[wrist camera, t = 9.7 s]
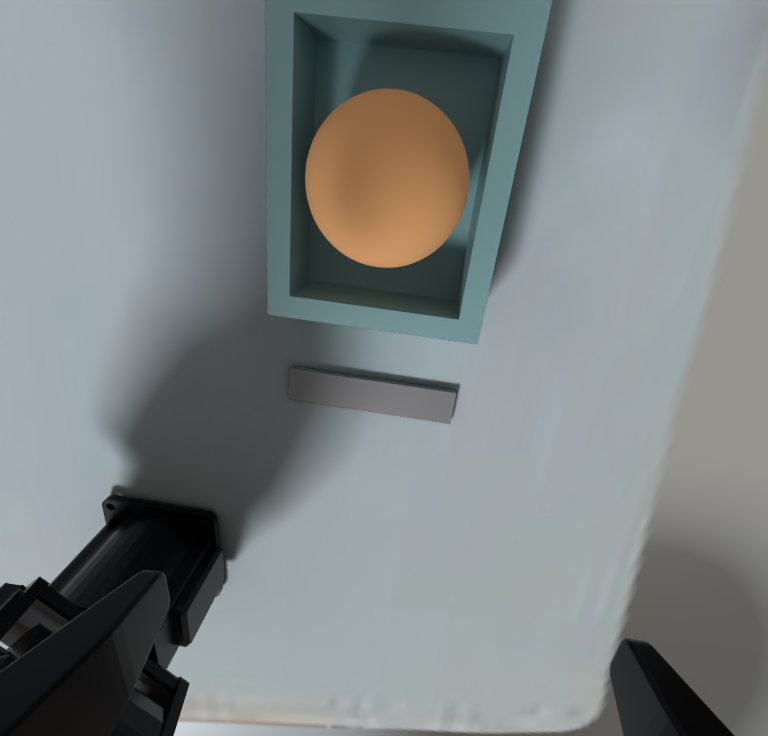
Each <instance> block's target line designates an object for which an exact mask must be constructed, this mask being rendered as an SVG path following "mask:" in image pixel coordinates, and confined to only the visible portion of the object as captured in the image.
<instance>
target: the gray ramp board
mask: <svg viewBox="0 0 768 736" xmlns="http://www.w3.org/2000/svg"><path fill="white" fill-rule="evenodd" d="M455 398H456V390H451V389H444V388H437V387H431V386H424V385H417V384H410V383H404V382H397V381H390V380H383V379H376V378H370V377H363V376H356V375H349V374H343V373H336V372H329V371H322V370H316V369H309V368H302V367H295V366H291V367H290V368H289V399H290V400H296V401H303V402H310V403H316V404H323V405H329V406H336V407H342V408H349V409H356V410H362V411H369V412H375V413H382V414H388V415H395V416H402V417H408V418H415V419H421V420H428V421H434V422H441V423H448V424H450V422H451V418H452V413H453V408H454V403H455Z"/></svg>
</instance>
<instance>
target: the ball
mask: <svg viewBox="0 0 768 736" xmlns="http://www.w3.org/2000/svg"><path fill="white" fill-rule="evenodd" d="M305 187H306V194H307V200H308V203H309V207H310V210H311V213H312V215H313V218H314V220H315V222H316V224H317V225H318V227H319V229H320V230H321V232H322V233H323V235H324V236H325V237H326V239H327V240H328V241H329V242H330V243H331V244H332V245H333V246H334V247H335V248H336V249H338V250H339V251H340V252H341V253H343V254H344V255H346V256H347V257H349V258H351V259H353V260H355V261H357V262H359V263H362V264H365V265H369V266H374V267H384V268H391V267H400V266H405V265H409V264H412V263H415V262H417V261H419V260H421V259H423V258H425V257H427V256H428V255H430V254H431V253H433V252H434V251H436V250H437V249H438V248H439V247H440V246H441V245H442V244H443V243H444V242H445V241H446V240H447V239H448V238H449V237H450V235H451V234H452V232H453V231H454V229H455V228H456V226H457V224H458V222H459V220H460V219H461V216H462V214H463V211H464V208H465V205H466V201H467V197H468V190H469V165H468V159H467V155H466V151H465V147H464V145H463V142H462V140H461V137H460V135H459V133H458V132H457V130H456V128H455V126H454V125H453V123H452V122H451V121H450V120H449V118H448V117H447V116H446V115H445V114H444V113H443V112H442V111H441V110H440V109H439V108H438V107H437V106H436V105H434V104H433V103H432V102H430V101H429V100H427V99H425V98H423V97H421V96H420V95H417V94H415V93H412V92H409V91H405V90H400V89H387V88H384V89H376V90H371V91H367V92H364V93H361V94H358V95H356V96H354V97H352V98H350V99H349V100H347V101H345V102H344V103H342V104H341V105H340V106H338V107H337V108H336V109H335V110H334V111H333V112H332V113H331V114H330V115H329V116H328V117H327V118H326V119H325V121H324V122H323V123H322V125H321V126H320V128H319V129H318V131H317V133H316V135H315V137H314V139H313V141H312V144H311V147H310V150H309V153H308V158H307V162H306V172H305Z"/></svg>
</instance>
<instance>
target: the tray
mask: <svg viewBox="0 0 768 736" xmlns="http://www.w3.org/2000/svg"><path fill="white" fill-rule="evenodd" d="M552 1H553V0H265V25H266V180H267V315H273V316H280V317H287V318H295V319H302V320H309V321H316V322H323V323H330V324H337V325H344V326H351V327H358V328H365V329H372V330H379V331H386V332H393V333H400V334H407V335H415V336H422V337H429V338H436V339H443V340H450V341H457V342H464V343H471V344H478V340H479V335H480V331H481V326H482V321H483V317H484V312H485V308H486V303H487V298H488V294H489V289H490V285H491V280H492V276H493V271H494V266H495V262H496V257H497V253H498V248H499V243H500V239H501V234H502V230H503V225H504V221H505V216H506V211H507V207H508V202H509V198H510V193H511V188H512V184H513V179H514V175H515V170H516V166H517V161H518V156H519V152H520V147H521V143H522V138H523V134H524V129H525V124H526V120H527V115H528V111H529V106H530V101H531V97H532V92H533V88H534V83H535V79H536V74H537V69H538V65H539V60H540V56H541V51H542V46H543V42H544V37H545V33H546V28H547V24H548V19H549V14H550V10H551V5H552ZM384 88H387V89H400V90H405V91H409V92H412V93H415V94H417V95H420V96H421V97H423V98H425V99H427V100H429V101H430V102H432V103H433V104H434V105H436V106H437V107H438V108H439V109H440V110H441V111H442V112H443V113H444V114H445V115H446V116H447V117H448V118H449V120H450V121H451V122H452V123H453V125H454V126H455V128H456V130H457V132H458V133H459V135H460V137H461V140H462V142H463V145H464V147H465V151H466V155H467V159H468V165H469V190H468V197H467V201H466V205H465V208H464V211H463V214H462V216H461V219H460V220H459V222H458V224H457V226H456V228H455V229H454V231H453V232H452V234H451V235H450V237H449V238H448V239H447V240H446V241H445V242H444V243H443V244H442V245H441V246H440V247H439V248H438V249H437V250H436V251H434V252H433V253H431V254H430V255H428V256H427V257H425V258H423V259H421V260H419V261H417V262H415V263H412V264H409V265H405V266H400V267H391V268H384V267H374V266H369V265H365V264H362V263H359V262H357V261H355V260H353V259H351V258H349V257H347V256H346V255H344V254H343V253H341V252H340V251H339V250H338V249H336V248H335V247H334V246H333V245H332V244H331V243H330V242H329V241H328V240H327V239H326V237H325V236H324V235H323V233H322V232H321V230H320V229H319V227H318V225H317V224H316V222H315V220H314V218H313V215H312V213H311V210H310V207H309V203H308V200H307V194H306V187H305V172H306V162H307V158H308V153H309V150H310V147H311V144H312V141H313V139H314V137H315V135H316V133H317V131H318V129H319V128H320V126H321V125H322V123H323V122H324V121H325V119H326V118H327V117H328V116H329V115H330V114H331V113H332V112H333V111H334V110H335V109H336V108H337V107H338V106H340V105H341V104H342V103H344V102H345V101H347V100H349V99H350V98H352V97H354V96H356V95H358V94H361V93H364V92H367V91H371V90H376V89H384Z"/></svg>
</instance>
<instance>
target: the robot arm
mask: <svg viewBox="0 0 768 736" xmlns="http://www.w3.org/2000/svg"><path fill="white" fill-rule="evenodd" d="M102 507H103V512H104V516H105V521H106V525H105V526H104V527H103V529H102V530H101V531H100V532H99V533H98V534H97V535H96V536H95V537H94V538H93V539H92V540H91V541H90V542H89V543H88V544H87V546H86V547H85V548H84V549H83V550H82V551H81V552H80V553H79V554H78V555H77V556H76V557H75V558H74V559H73V560H72V561H71V563H70V564H69V565H68V566H67V567H66V568H65V569H64V570H63V571H62V572H61V573H60V574H59V575H58V576H57V577H56V578H55V579H54V581H53V582H52V583H51V584H50V583H48V582H47V581H46V580H44V579H43V578H41V577H38V578H37V579H36V580H34V581H33V582H32V583H31V584H29V585H28V586H27V587H25V586H24V585H21V586H20V585H14V584H8V583H5V584H4V585H2V586H1V587H0V641H1V642H2V643H4V644H5V645H7V646H9V648H8V649H7V650H6V649H4V648H2V647H1V646H0V736H173V735H174V732H175V729H176V726H177V722H178V719H179V716H180V713H181V709H182V706H183V703H184V700H185V697H186V693H187V690H188V687H189V682H187V681H186V680H185V679H183V678H182V677H176V676H175V675H173V674H172V673H171V672H169V671H168V670H166V669H167V668H168V666H169V664H170V662H171V660H172V658H173V657H174V655H175V653H176V651H177V649H178V647H179V646H183V647H186V646H188V645H189V644H190V643H192V641H193V639H194V637H195V635H196V633H197V631H198V629H199V627H200V625H201V623H202V622H203V620H204V618H205V616H206V614H207V612H208V610H209V608H210V606H211V604H212V602H213V600H214V599H215V597H216V596H218V595H219V594H220V592H221V591H222V588H223V581H224V579H225V576H224V561H223V550H222V548H221V546H220V540H219V527H218V518H217V516H216V515H215V514H214V513H213V512H210V511H205V510H199V509H193V508H187V507H181V506H175V505H169V504H163V503H157V502H151V501H145V500H140V499H134V498H128V497H122V496H116V495H110V496H108V497H107V498H106V499H105V500H104V501H103V503H102ZM207 520H208V521H207ZM49 584H50V585H49ZM48 585H49V586H48ZM610 677H611V682H612V687H613V691H614V696H615V700H616V705H617V709H618V714H619V718H620V723H621V728H622V732H623V736H734V735H733V734H732V732H731V731H730V730H729V729H728V728H727V727H726V726H725V725H724V724H723V723H722V721H721V720H720V719H719V718H718V717H717V716H716V715H715V714H714V713H713V712H712V711H711V710H710V708H709V707H708V706H707V705H706V704H705V703H704V702H703V701H702V700H701V699H700V698H699V696H698V695H697V694H696V693H695V692H694V691H693V690H692V689H691V688H690V687H689V686H688V684H687V683H686V682H685V681H684V680H683V679H682V678H681V677H680V676H679V675H678V673H677V672H676V671H675V670H674V669H673V668H672V667H671V666H670V665H669V664H668V663H667V661H666V660H665V659H664V658H663V657H662V656H661V655H660V654H659V653H658V652H657V651H656V649H655V648H654V647H653V646H651V644H649V643H648V642H646V641H643V640H638V639H630V638H625V639H623V640H622V641H621V643H620V645H619V647H618V649H617V651H616V654H615V656H614V658H613V660H612V662H611V665H610Z"/></svg>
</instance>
